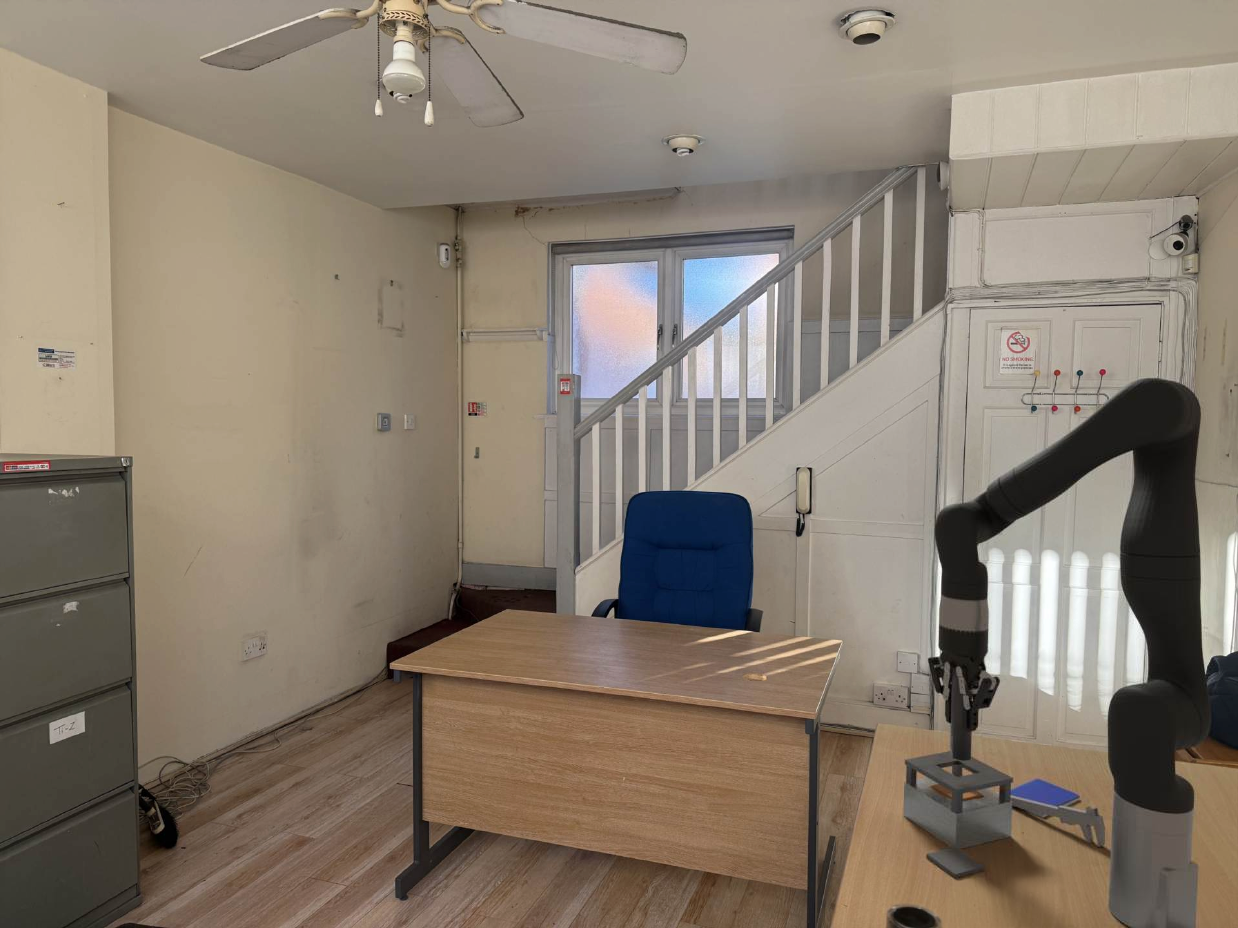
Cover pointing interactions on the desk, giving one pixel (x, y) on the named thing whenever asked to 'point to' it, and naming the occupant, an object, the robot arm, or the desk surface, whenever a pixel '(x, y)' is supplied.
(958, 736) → the handle
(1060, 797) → the hard drive
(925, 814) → the grey boxy frame
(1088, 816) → the caliper
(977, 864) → the pad
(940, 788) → the button
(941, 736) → the desk surface
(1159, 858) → the robot arm
